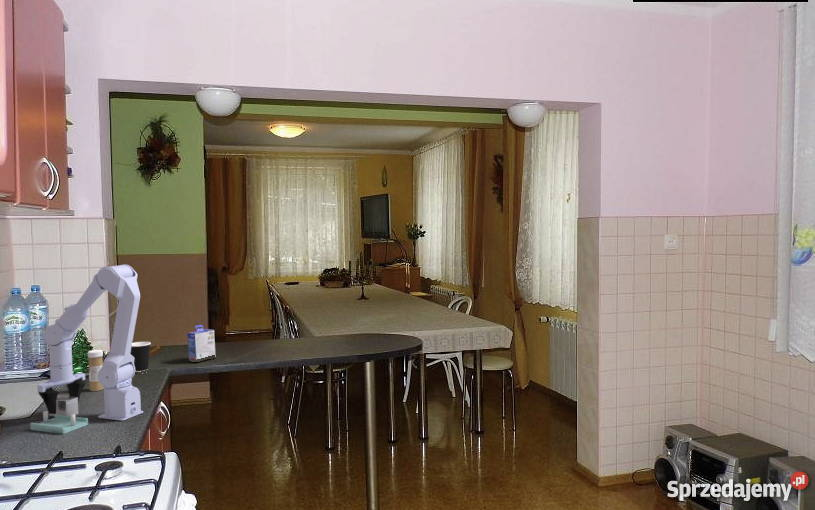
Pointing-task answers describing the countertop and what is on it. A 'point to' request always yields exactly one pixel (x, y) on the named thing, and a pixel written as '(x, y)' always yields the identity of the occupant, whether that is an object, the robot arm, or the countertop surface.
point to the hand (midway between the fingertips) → (63, 409)
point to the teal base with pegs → (59, 423)
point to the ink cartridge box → (201, 343)
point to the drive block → (66, 406)
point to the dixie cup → (140, 355)
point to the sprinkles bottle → (95, 369)
